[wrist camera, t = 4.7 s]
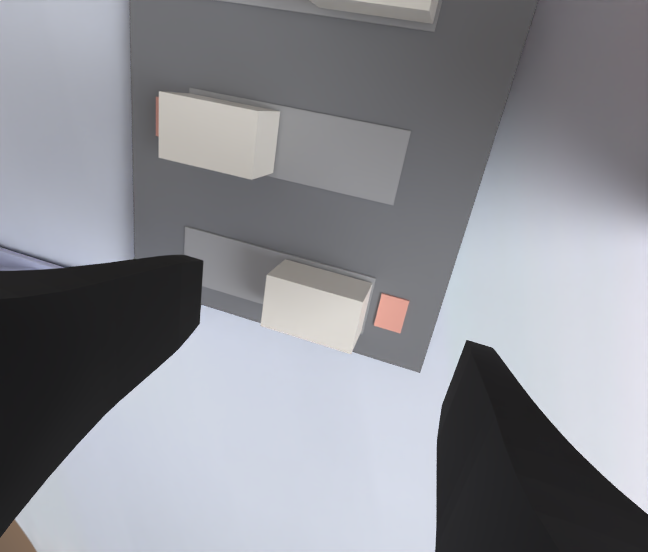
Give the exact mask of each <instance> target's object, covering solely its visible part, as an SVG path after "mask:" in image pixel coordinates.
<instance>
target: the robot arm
mask: <svg viewBox="0 0 648 552" xmlns="http://www.w3.org/2000/svg"><path fill="white" fill-rule="evenodd" d="M203 263H204V260H200V259H197V258H194V257H190V256H187V255H164V256H155V257H147V258H140V259H132V260H125V261H118V262H111V263H103V264H94V265H85V266H76V267H67V268H64V267H61V266H58V265H55V264H52V263H48V262H45V261H42V260H39V259H36V258H33V257H29V256H26V255H23V254H20V253H17V252H14V251H10V250H7V249H4V248H1V247H0V537H1V536H2V535H3V533H4V532H5V531H6V529H7V528H8V527H9V525H10V524H11V523H12V521H13V520H14V519H15V518H16V517H17V515H18V514H19V513H20V512H21V510H22V509H23V508H24V507H25V506H26V504H27V503H28V502H29V501H30V499H31V498H32V497H33V496H34V495H35V493H36V492H37V491H38V490H39V488H40V487H41V486H42V485H43V483H44V482H45V481H46V480H47V479H48V477H49V476H50V475H51V474H52V473H53V472H54V471H55V469H56V468H57V467H58V466H59V465H60V464H61V463H62V461H63V460H64V459H65V458H66V457H67V456H68V455H69V453H70V452H71V451H72V450H73V449H74V448H75V446H76V445H77V444H78V443H79V442H80V441H81V440H82V439H83V438H84V437H85V436H86V435H87V433H88V432H89V431H90V430H91V429H92V428H93V427H94V426H95V425H96V424H97V423H98V422H99V421H100V420H101V418H102V417H103V416H104V415H105V414H106V413H107V412H108V411H110V410H111V409H112V408H113V407H114V406H115V405H116V404H117V403H118V402H119V401H120V400H121V399H123V398H124V397H125V396H126V395H127V394H128V393H129V392H131V391H132V390H133V389H134V388H135V387H136V386H137V385H139V384H140V383H141V382H142V381H143V380H144V379H145V378H147V377H148V376H149V375H150V374H151V373H152V372H153V371H155V370H156V369H157V368H158V367H159V366H160V365H161V364H163V363H164V362H165V361H166V360H167V359H168V358H169V357H170V356H171V355H173V354H174V353H175V352H176V351H177V350H178V349H179V348H180V347H181V346H182V344H183V343H184V342H185V341H186V340H187V339H188V338H189V336H190V335H191V334H192V333H193V331H194V330H195V329H196V328H197V326H198V325H199V324H200V309H201V294H202V278H203ZM435 552H648V514H647V513H645V512H644V511H643V510H642V509H641V508H640V507H638V506H637V505H636V504H635V503H634V502H632V501H631V500H630V499H629V498H628V497H627V496H625V495H624V494H623V493H622V492H621V491H619V490H618V489H617V488H616V487H615V486H614V485H613V484H612V483H611V482H609V481H608V480H607V479H606V478H605V477H604V476H603V475H602V474H601V473H600V472H599V471H598V470H597V469H596V468H595V467H594V466H592V465H591V464H590V463H589V462H588V461H587V460H586V459H585V458H584V457H583V456H582V455H581V454H580V453H579V452H578V451H577V450H576V449H575V448H574V447H573V446H572V445H571V444H570V443H569V442H568V441H567V439H566V438H565V437H564V436H563V435H562V434H561V433H560V432H559V431H558V430H557V428H556V427H555V426H554V425H553V424H552V423H551V422H550V420H549V419H548V418H547V417H546V416H545V415H544V414H543V412H542V411H541V410H540V409H539V408H538V406H537V405H536V404H535V403H534V401H533V400H532V399H531V398H530V396H529V395H528V394H527V393H526V391H525V390H524V389H523V387H522V386H521V385H520V383H519V382H518V381H517V379H516V378H515V377H514V375H513V374H512V373H511V371H510V370H509V369H508V367H507V366H506V364H505V363H504V362H503V360H502V359H501V358H500V356H499V355H498V354H497V353H496V351H495V350H494V349H493V348H492V347H488V346H485V345H482V344H478V343H475V342H472V341H468V340H466V343H465V346H464V348H463V351H462V354H461V356H460V359H459V362H458V364H457V367H456V370H455V372H454V375H453V378H452V380H451V383H450V386H449V388H448V391H447V394H446V396H445V399H444V401H443V404H442V409H441V415H440V422H439V429H438V437H437V526H436V550H435Z"/></svg>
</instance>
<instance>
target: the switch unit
mask: <svg viewBox="0 0 648 552" xmlns="http://www.w3.org/2000/svg"><path fill="white" fill-rule="evenodd" d="M537 4H538V0H438V5H437V9H436V13H435V17H434V22H433V24H430V23H423V22H416V21H409V20H402V19H395V18H388V17H381V16H373V15H366V14H359V13H352V12H345V11H338V10H331V9H324V8H319V7H317V6H316V5H315V4H313V3H312V2H311V1H309V0H130V49H131V100H132V151H133V202H134V253H135V259H140V258H147V257H155V256H164V255H187V256H190V257H194V258H197V259H200V260H204V263H203V278H202V294H201V305H204V306H208V307H211V308H214V309H217V310H220V311H224V312H227V313H230V314H233V315H236V316H240V317H243V318H246V319H249V320H252V321H256V322H259V323H261V318H262V310H263V301H264V293H265V285H266V277H267V274H268V273H269V272H271V271H272V270H273V269H274V268H275V267H277V266H278V265H279V264H280V263H281V262H282V261H284V260H285V259H286V260H290V261H294V262H297V263H301V264H305V265H308V266H312V267H315V268H319V269H323V270H326V271H330V272H334V273H337V274H341V275H345V276H348V277H352V278H355V279H359V280H363V281H366V282H370V283H373V284H372V288H371V292H370V297H369V301H368V305H367V309H366V313H365V318H364V322H363V326H362V330H361V333H360V335H359V338H358V340H357V342H356V344H355V346H354V349H353V351H352V352H355V353H358V354H361V355H364V356H368V357H371V358H374V359H377V360H380V361H384V362H387V363H390V364H393V365H396V366H400V367H403V368H406V369H409V370H412V371H416V372H419V373H420V371H421V368H422V365H423V362H424V359H425V356H426V353H427V349H428V346H429V343H430V340H431V337H432V334H433V331H434V327H435V324H436V321H437V318H438V315H439V312H440V309H441V305H442V302H443V299H444V296H445V293H446V290H447V287H448V283H449V280H450V277H451V274H452V271H453V268H454V265H455V261H456V258H457V255H458V252H459V249H460V246H461V243H462V239H463V236H464V233H465V230H466V227H467V224H468V220H469V217H470V214H471V211H472V208H473V205H474V202H475V198H476V195H477V192H478V189H479V186H480V183H481V180H482V176H483V173H484V170H485V167H486V164H487V161H488V158H489V154H490V151H491V148H492V145H493V142H494V139H495V136H496V132H497V129H498V126H499V123H500V120H501V117H502V114H503V110H504V107H505V104H506V101H507V98H508V95H509V92H510V88H511V85H512V82H513V79H514V76H515V73H516V70H517V66H518V63H519V60H520V57H521V54H522V51H523V48H524V44H525V41H526V38H527V35H528V32H529V29H530V26H531V22H532V19H533V16H534V13H535V10H536V7H537ZM159 91H163V92H177V93H190V94H195V95H200V96H205V97H211V98H216V99H221V100H226V101H231V102H236V103H241V104H246V105H251V106H256V107H261V108H266V109H271V110H276V111H280V119H279V127H278V136H277V145H276V153H275V162H274V170H273V173H271V174H268V175H265V176H262V177H259V178H256V179H253V180H251V179H246V178H242V177H238V176H234V175H230V174H225V173H221V172H217V171H213V170H209V169H204V168H200V167H196V166H192V165H187V164H183V163H179V162H175V161H171V160H166V159H162V158H159Z"/></svg>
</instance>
